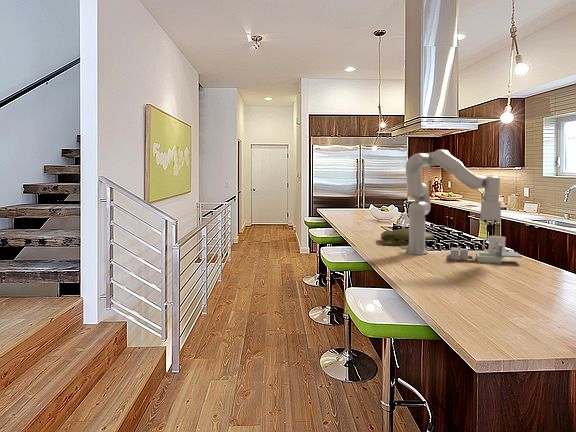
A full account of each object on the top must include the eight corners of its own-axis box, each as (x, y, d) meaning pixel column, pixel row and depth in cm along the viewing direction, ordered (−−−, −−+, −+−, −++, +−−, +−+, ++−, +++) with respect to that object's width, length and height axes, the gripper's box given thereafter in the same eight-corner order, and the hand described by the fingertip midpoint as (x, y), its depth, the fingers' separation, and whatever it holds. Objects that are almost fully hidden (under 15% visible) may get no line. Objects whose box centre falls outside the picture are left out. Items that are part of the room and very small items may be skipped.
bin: (477, 262, 268) (478, 256, 267) (475, 258, 279) (475, 252, 279) (501, 263, 264) (501, 257, 264) (498, 259, 276) (498, 253, 275)
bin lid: (497, 256, 265) (497, 246, 264) (494, 252, 276) (494, 242, 275) (521, 257, 261) (522, 247, 261) (517, 253, 273) (518, 243, 272)
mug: (503, 254, 290) (504, 236, 289) (505, 257, 282) (506, 238, 281) (481, 253, 293) (482, 235, 292) (483, 256, 285) (484, 237, 284)
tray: (448, 261, 272) (448, 258, 271) (447, 256, 284) (447, 254, 283) (474, 262, 268) (475, 260, 268) (472, 258, 280) (472, 255, 280)
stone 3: (460, 260, 274) (460, 249, 273) (459, 258, 278) (460, 248, 277) (467, 260, 273) (468, 250, 272) (467, 259, 277) (467, 248, 276)
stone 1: (450, 258, 278) (450, 248, 277) (451, 257, 282) (451, 247, 281) (457, 259, 276) (458, 249, 276) (458, 258, 280) (458, 247, 279)
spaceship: (381, 246, 321) (381, 231, 320) (380, 238, 351) (381, 225, 350) (436, 247, 315) (436, 232, 314) (430, 240, 345) (431, 226, 344)
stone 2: (450, 260, 272) (451, 250, 272) (450, 259, 276) (450, 249, 276) (458, 261, 271) (458, 250, 271) (457, 259, 275) (458, 249, 274)
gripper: (477, 198, 266) (475, 232, 268) (507, 199, 262) (504, 233, 264) (476, 197, 273) (474, 230, 276) (504, 198, 269) (502, 231, 272)
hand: (489, 231), depth 270 cm, fingers closed
